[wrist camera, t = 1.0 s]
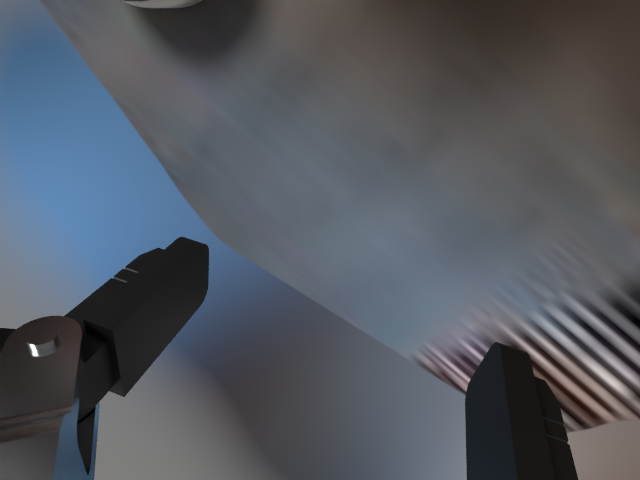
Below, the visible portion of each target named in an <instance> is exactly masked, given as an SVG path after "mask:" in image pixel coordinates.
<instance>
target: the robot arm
mask: <svg viewBox="0 0 640 480" xmlns="http://www.w3.org/2000/svg"><path fill="white" fill-rule="evenodd" d="M208 271H209V249H208V246H207V245H206V244H203V243H200V242H197V241H194V240H191V239H188V238H185V237H179V238H178V239H176V240H175V241H174V242H173V243H172V244H171V245H169V246H168V247H167V248H166V249H165V250H163V249H160V248H157V249H154V250H152V251H149V252H147V253H144V254H142V255H140V256H138V257H137V258H136V259H135V260H133V261H132V262H131V263H130V264H128V265H127V266H126V268H125V269H122V270H121V271H120V272H118V274H116V275H115V276H114V278H113V279H112V278H111V279H110V280H109V281H107V282H106V283H105V284H104V285H103V286H101V287H100V288H99V289H97V290H96V291H95V292H94V293H92V294H91V295H90V296H89V297H87V298H86V299H85V300H84V301H83V302H81V303H80V304H79V305H78V306H76V307H75V308H74V309H73V310H71V311H70V312H69V313H68V314H66V315H65V316H47V317H42V318H38V319H35V320H32V321H30V322H28V323H26V324H24V325H22V326H20V327H19V328H17V329H6V328H0V480H94V473H95V460H96V447H97V433H98V420H99V401H100V400H101V399H102V398H103V397H104V396H105V395H106V393H107V392H108V391H111V392H113V393H116V394H118V395H121V396H123V397H125V396H126V394H127V393H128V392H129V390H131V388H132V387H133V386H134V385H135V383H136V382H137V381H138V380H139V379H140V377H141V376H142V375H143V374H144V373H145V372H146V370H147V369H148V368H149V367H150V366H151V364H152V363H153V362H154V361H155V360H156V358H157V357H158V356H159V355H160V354H161V352H162V351H163V350H164V349H165V348H166V346H167V345H168V344H169V343H170V342H171V340H172V339H173V338H174V337H175V336H176V334H177V333H178V332H179V331H180V329H181V328H182V327H183V326H184V325H185V324H186V323H187V321H188V320H189V319H190V318H191V317H192V315H193V314H194V313H195V311H196V310H197V309H198V308H199V307H200V305H201V304H202V303H203V301H204V299H205V296H206V293H207V290H208V273H209V272H208ZM465 414H466V456H467V457H466V458H467V480H578V477H577V473H576V469H575V465H574V461H573V457H572V453H571V449H570V445H569V444H567V442H568V437H567V433H566V429H565V427H564V426H563V423H564V422H563V418H562V414H561V410H560V406H559V402H558V400H557V399H556V397H555V395H554V394H553V392H552V391H551V389H550V388H549V386H548V384H547V383H546V381H545V380H542V379H539V378H536V377H534V374H533V369H532V364H531V359H530V356H529V354H528V353H527V352H525V351H522V350H519V349H516V348H513V347H510V346H507V345H504V344H501V343H498V342H496V343H494V344H493V345H492V346H491V347H490V349H489V351H488V352H487V354H486V355H485V357H484V359H483V360H482V362H481V364H480V365H479V367H478V368H477V370H476V372H475V373H474V375H473V376H472V378H471V380H470V382H469V385H468V388H467V392H466V399H465Z"/></svg>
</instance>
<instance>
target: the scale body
mask: <svg viewBox="0 0 640 480" xmlns="http://www.w3.org/2000/svg"><path fill="white" fill-rule="evenodd" d="M121 1H123V0H121ZM201 1H203V0H148V1H123V2H125V3H128V4H130V5H133V6H137V7H142V8H184V7H189V6H192V5H195V4H197V3H199V2H201Z"/></svg>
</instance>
